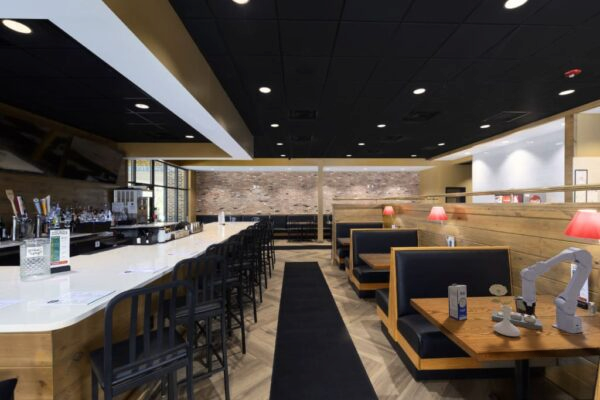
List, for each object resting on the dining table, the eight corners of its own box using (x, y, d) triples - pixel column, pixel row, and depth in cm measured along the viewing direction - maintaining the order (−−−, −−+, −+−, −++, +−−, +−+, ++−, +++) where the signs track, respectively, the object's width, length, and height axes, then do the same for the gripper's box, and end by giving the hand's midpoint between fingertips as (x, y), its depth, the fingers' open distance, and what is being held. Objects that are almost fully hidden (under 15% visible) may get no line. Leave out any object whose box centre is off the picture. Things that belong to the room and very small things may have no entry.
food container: (530, 310, 172) (529, 294, 172) (537, 314, 166) (536, 297, 166) (509, 310, 173) (508, 294, 174) (515, 313, 167) (515, 297, 168)
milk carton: (458, 320, 158) (458, 286, 159) (448, 316, 165) (447, 283, 165) (467, 318, 161) (466, 284, 161) (457, 314, 167) (456, 281, 168)
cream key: (534, 320, 153) (534, 315, 153) (535, 323, 150) (534, 318, 150) (524, 318, 156) (524, 313, 156) (524, 320, 153) (524, 316, 153)
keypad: (541, 323, 154) (540, 319, 154) (542, 330, 145) (542, 325, 146) (493, 313, 168) (493, 310, 168) (492, 319, 159) (491, 315, 159)
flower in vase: (522, 333, 142) (521, 285, 143) (518, 341, 134) (517, 290, 135) (492, 325, 152) (491, 280, 152) (487, 332, 144) (486, 284, 144)
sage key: (507, 317, 161) (507, 313, 161) (507, 320, 157) (507, 315, 157) (498, 316, 163) (498, 311, 164) (498, 318, 160) (498, 314, 160)
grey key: (520, 317, 157) (520, 313, 157) (520, 320, 154) (520, 315, 154) (511, 315, 160) (511, 311, 160) (511, 318, 156) (510, 313, 156)
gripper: (519, 286, 161) (520, 309, 161) (519, 292, 150) (520, 317, 150) (535, 288, 157) (535, 312, 157) (536, 295, 146) (537, 320, 145)
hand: (529, 315), depth 153 cm, fingers closed
